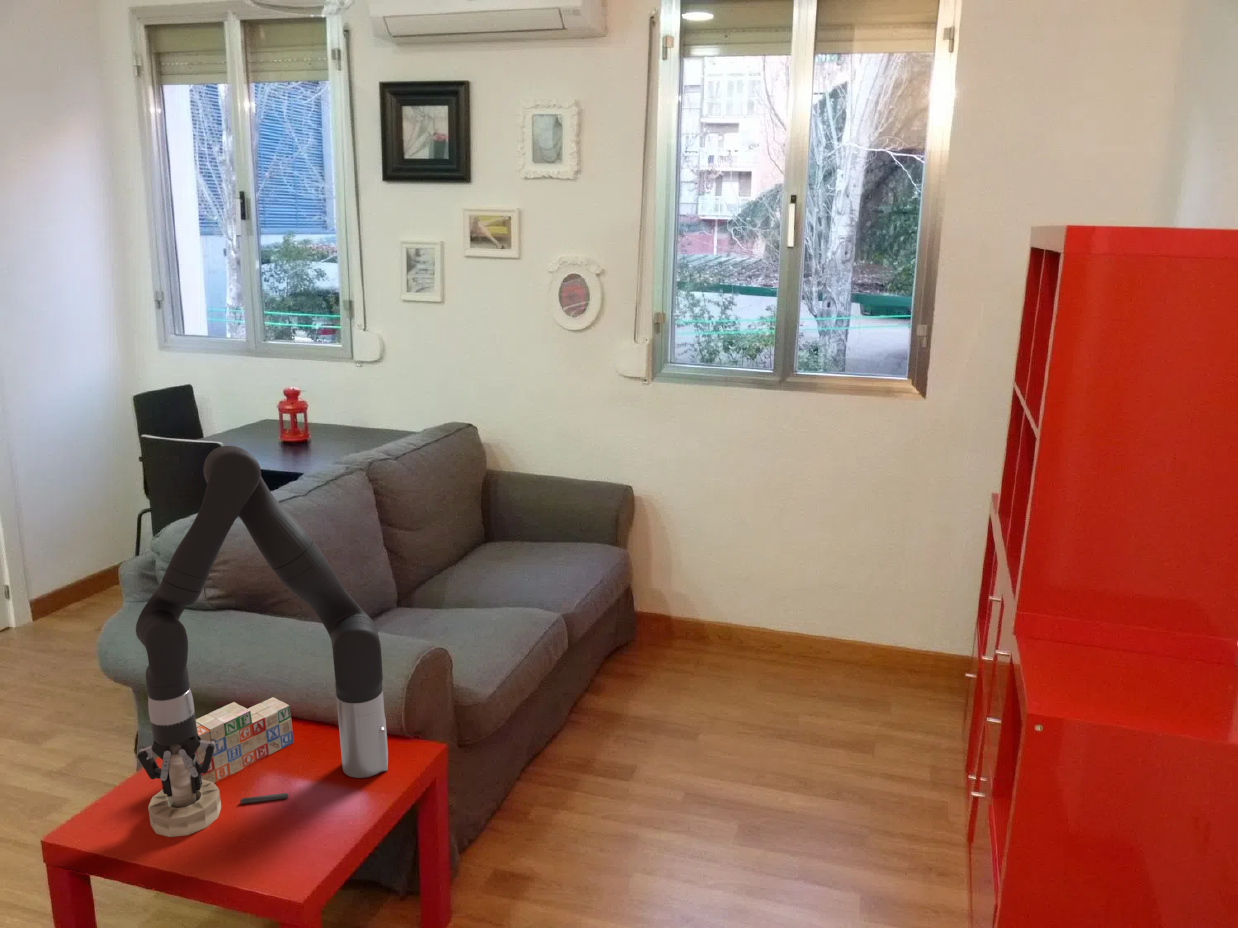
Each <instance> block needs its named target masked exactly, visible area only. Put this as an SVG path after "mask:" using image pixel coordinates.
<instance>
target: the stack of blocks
mask: <svg viewBox="0 0 1238 928" xmlns="http://www.w3.org/2000/svg"><path fill="white" fill-rule="evenodd" d="M196 726H197V733H198V735H199V736H200V738H201V740H205V741H210V740H211V739H215V740H216V744H215V748H214V752H213V755H212V759H211V763H210V766H209V769H208V772H207V773H202V774H201V778H202V780H207V781H211V782H213V783H214V784H215V783H217V782H219V781H222V780H223V779H225V778H227V777H230V776H232V775H233V774H236V773H237V772H240V771H241V770H244V769H245V768H246V767H248V766H250V765H253V764H254V763H256V762H258V761H260V760H262V759H265V758H266V757H268V756H271V755H272V754H274V753H276V752H277V751H281V750H282V749H283V748H285V747H288V746H290V745H291V744H293V743H294V733H293V732H294V731H293V724H292V715H291V709H290V705H289V704H287V703H286V702H284V701H282V700H279V699H277V698H276V697H274V696H272V697H271V698H268V699H266V700H263V701H261V702H259V703H257V704H255V705H252V706H251V707H249V708H246V707H244V706H243V705H240V704H238V703H237V702H235V701H233V702H231V703H229V704H226V705H224V706H222V707H220V708H217V709H216V710H213V711H211V712H209V713H208V714H205V715H202V716H201V717H198V718H196ZM195 753H196V755H197V760H198V762H199V764H202V763H203V761H204V757H205V754H206V753H203V752H202V748H201V747H199V748H198V749H197V751H196V752H195Z"/></svg>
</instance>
